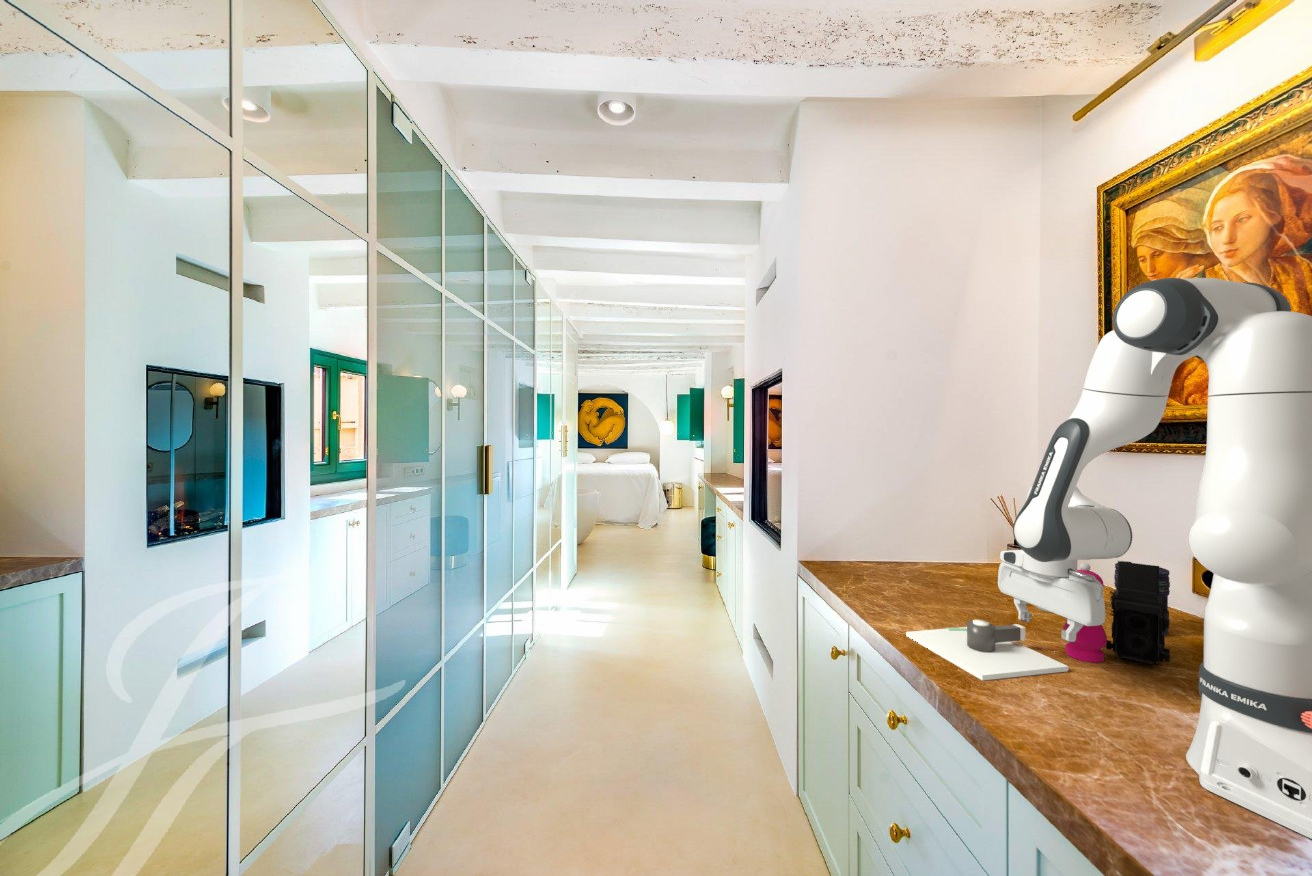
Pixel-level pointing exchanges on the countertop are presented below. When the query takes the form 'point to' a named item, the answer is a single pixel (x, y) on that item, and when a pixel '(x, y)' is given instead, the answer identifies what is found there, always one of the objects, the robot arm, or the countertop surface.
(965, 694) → the countertop surface
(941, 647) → the tuner board
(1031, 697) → the countertop surface
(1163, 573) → the storage jar
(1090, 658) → the pepper mill
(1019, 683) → the countertop surface
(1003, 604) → the countertop surface
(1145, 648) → the camera
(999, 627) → the dial
